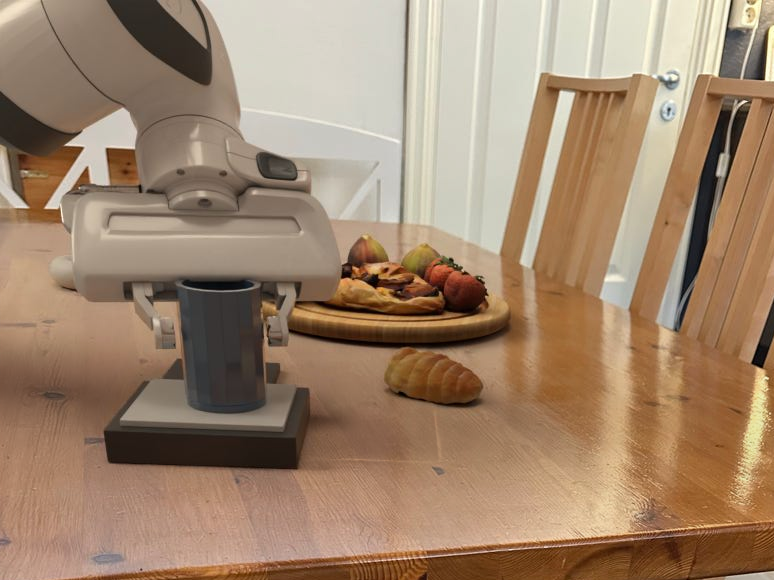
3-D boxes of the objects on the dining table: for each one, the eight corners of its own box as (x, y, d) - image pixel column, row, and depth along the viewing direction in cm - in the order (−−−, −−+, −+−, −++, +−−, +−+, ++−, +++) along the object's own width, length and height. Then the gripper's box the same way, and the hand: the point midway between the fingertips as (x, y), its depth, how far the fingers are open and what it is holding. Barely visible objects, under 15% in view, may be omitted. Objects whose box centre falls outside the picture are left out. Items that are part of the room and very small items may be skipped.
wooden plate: (253, 347, 100) (248, 266, 96) (252, 287, 127) (249, 222, 123) (537, 351, 107) (545, 275, 103) (481, 294, 134) (484, 232, 129)
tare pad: (160, 390, 85) (157, 363, 84) (177, 367, 92) (175, 341, 91) (271, 395, 86) (269, 368, 85) (280, 371, 93) (279, 346, 92)
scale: (107, 462, 69) (101, 423, 68) (147, 409, 81) (142, 374, 79) (297, 469, 71) (295, 430, 69) (310, 415, 82) (309, 381, 80)
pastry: (495, 396, 90) (498, 357, 88) (459, 413, 85) (461, 372, 83) (414, 378, 94) (415, 339, 92) (376, 393, 89) (376, 352, 87)
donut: (50, 279, 124) (53, 293, 116) (45, 251, 122) (49, 263, 114) (129, 278, 127) (137, 292, 120) (125, 251, 126) (134, 263, 118)
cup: (179, 412, 71) (167, 289, 67) (194, 388, 77) (183, 273, 72) (261, 415, 72) (254, 293, 67) (271, 392, 77) (265, 277, 73)
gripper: (51, 153, 68) (72, 322, 65) (328, 165, 74) (358, 319, 72) (62, 212, 73) (82, 369, 71) (318, 218, 80) (345, 362, 78)
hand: (223, 344), depth 71 cm, fingers open, 7 cm apart
